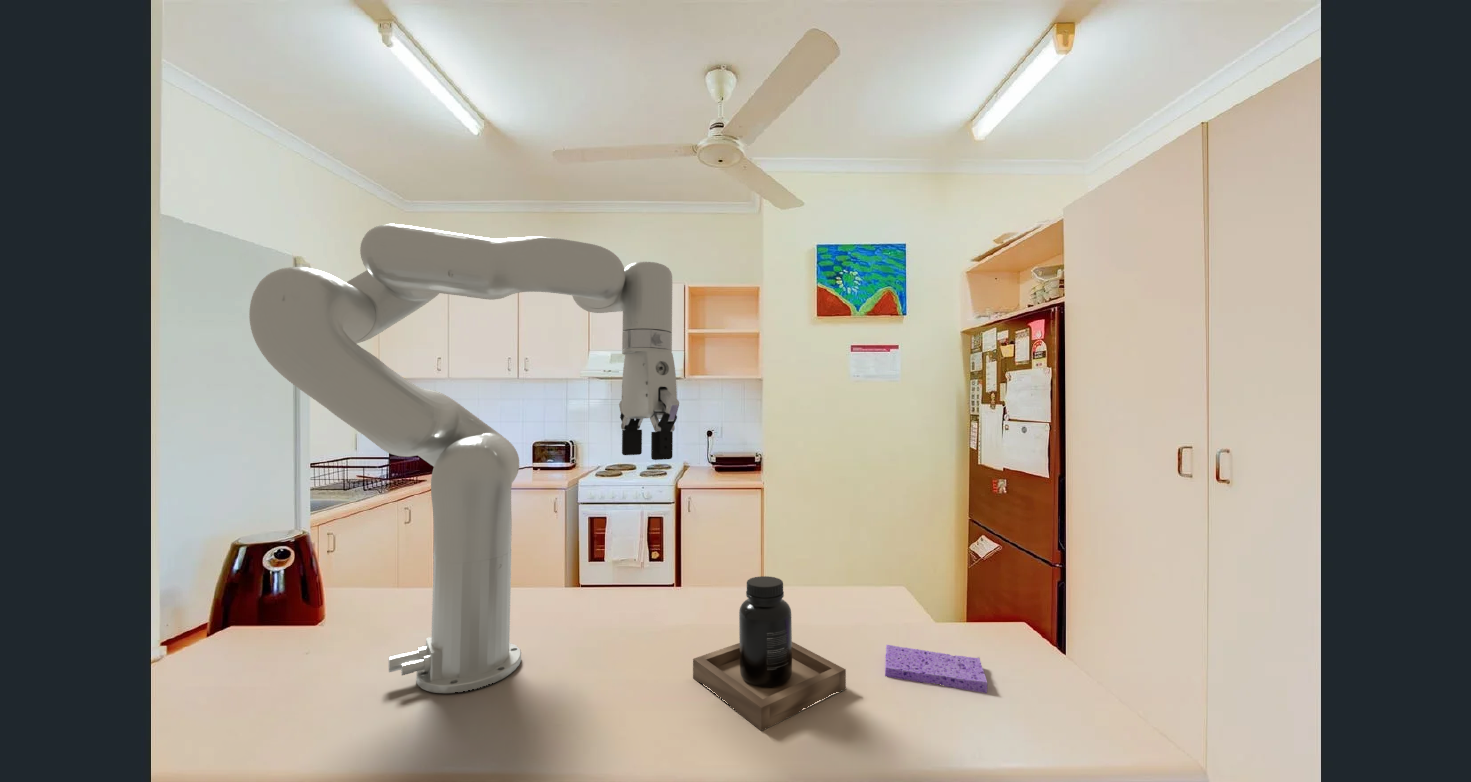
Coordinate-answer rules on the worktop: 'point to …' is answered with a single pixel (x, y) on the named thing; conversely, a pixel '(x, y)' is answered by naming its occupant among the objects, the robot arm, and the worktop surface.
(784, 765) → the worktop surface
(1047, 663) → the worktop surface
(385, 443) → the robot arm
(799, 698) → the walnut tray
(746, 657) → the supplement bottle
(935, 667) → the sponges
